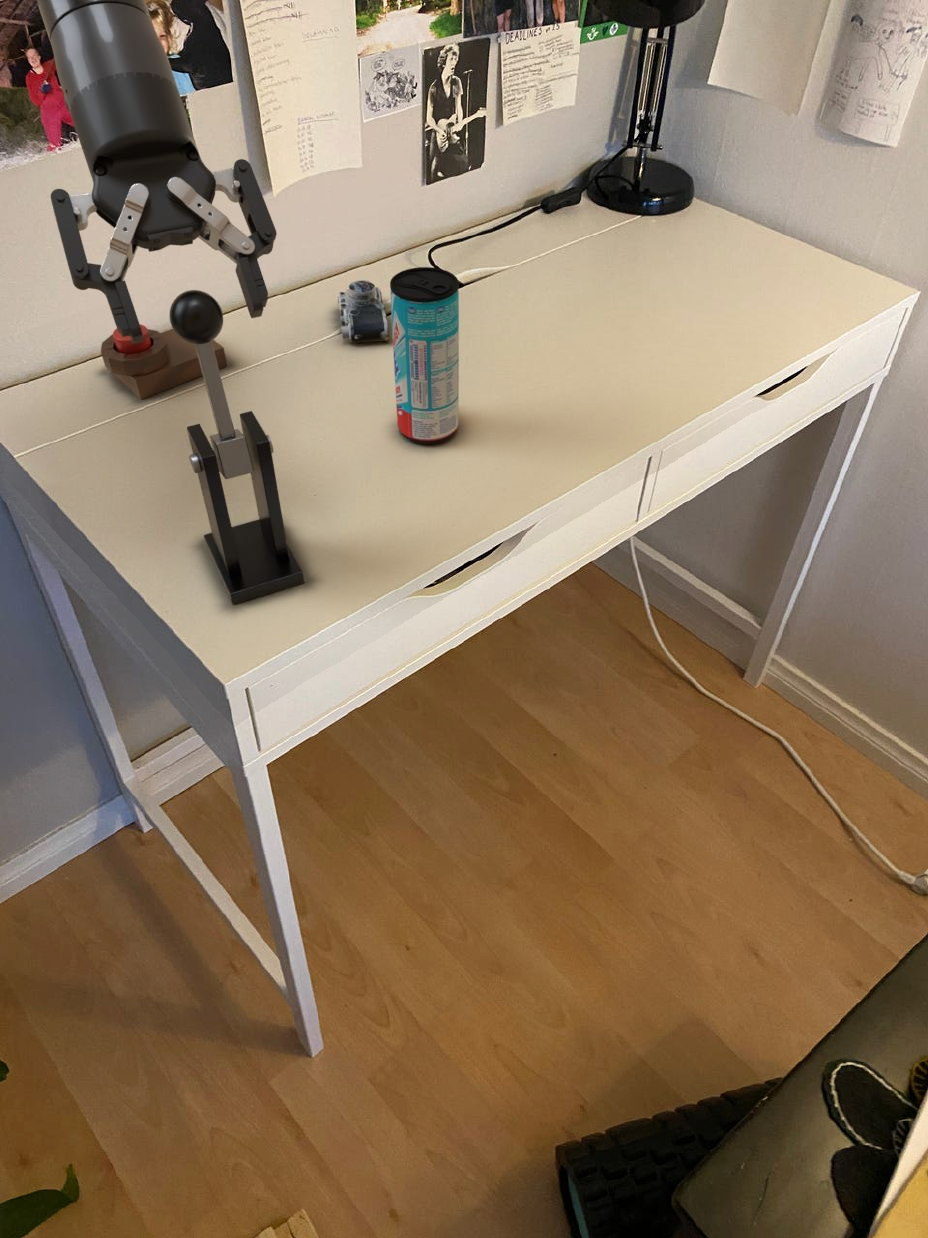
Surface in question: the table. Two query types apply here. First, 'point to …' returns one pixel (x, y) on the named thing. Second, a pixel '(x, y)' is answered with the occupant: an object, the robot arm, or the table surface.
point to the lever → (211, 376)
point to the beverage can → (426, 353)
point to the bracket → (254, 549)
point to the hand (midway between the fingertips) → (199, 326)
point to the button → (126, 344)
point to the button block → (157, 363)
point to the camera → (363, 313)
